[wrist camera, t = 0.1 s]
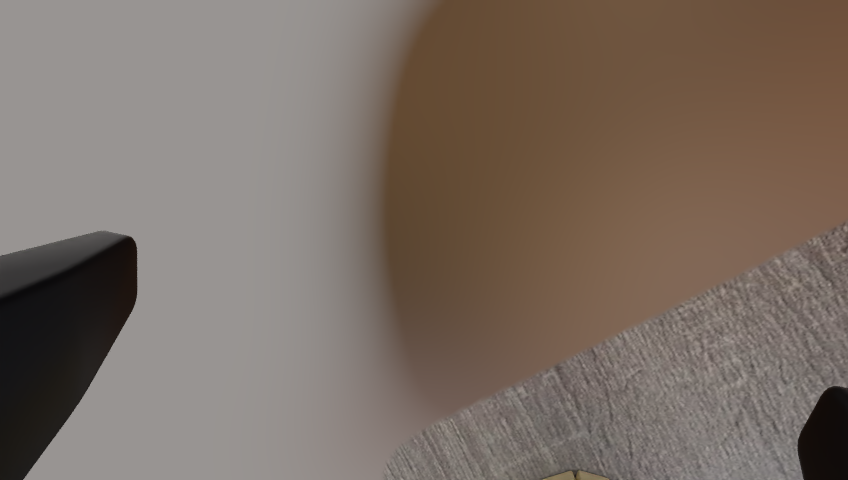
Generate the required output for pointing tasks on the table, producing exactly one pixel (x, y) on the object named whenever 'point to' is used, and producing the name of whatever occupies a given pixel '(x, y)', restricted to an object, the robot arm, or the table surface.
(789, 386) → the table surface
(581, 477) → the tube
